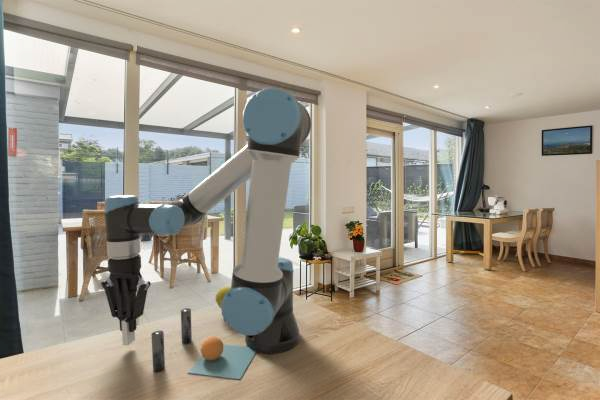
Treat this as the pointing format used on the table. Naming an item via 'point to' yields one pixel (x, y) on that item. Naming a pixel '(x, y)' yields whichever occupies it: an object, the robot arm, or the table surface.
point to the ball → (212, 348)
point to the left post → (158, 351)
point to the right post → (186, 326)
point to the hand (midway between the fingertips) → (129, 342)
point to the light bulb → (221, 295)
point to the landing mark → (225, 363)
